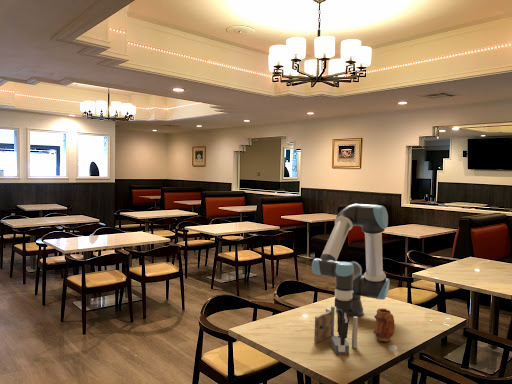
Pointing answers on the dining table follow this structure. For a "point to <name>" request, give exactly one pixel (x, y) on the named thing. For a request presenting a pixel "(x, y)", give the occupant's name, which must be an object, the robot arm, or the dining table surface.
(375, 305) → the dining table surface
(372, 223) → the robot arm
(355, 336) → the doorframe
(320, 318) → the door
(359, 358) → the dining table surface
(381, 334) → the mug
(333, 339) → the block
